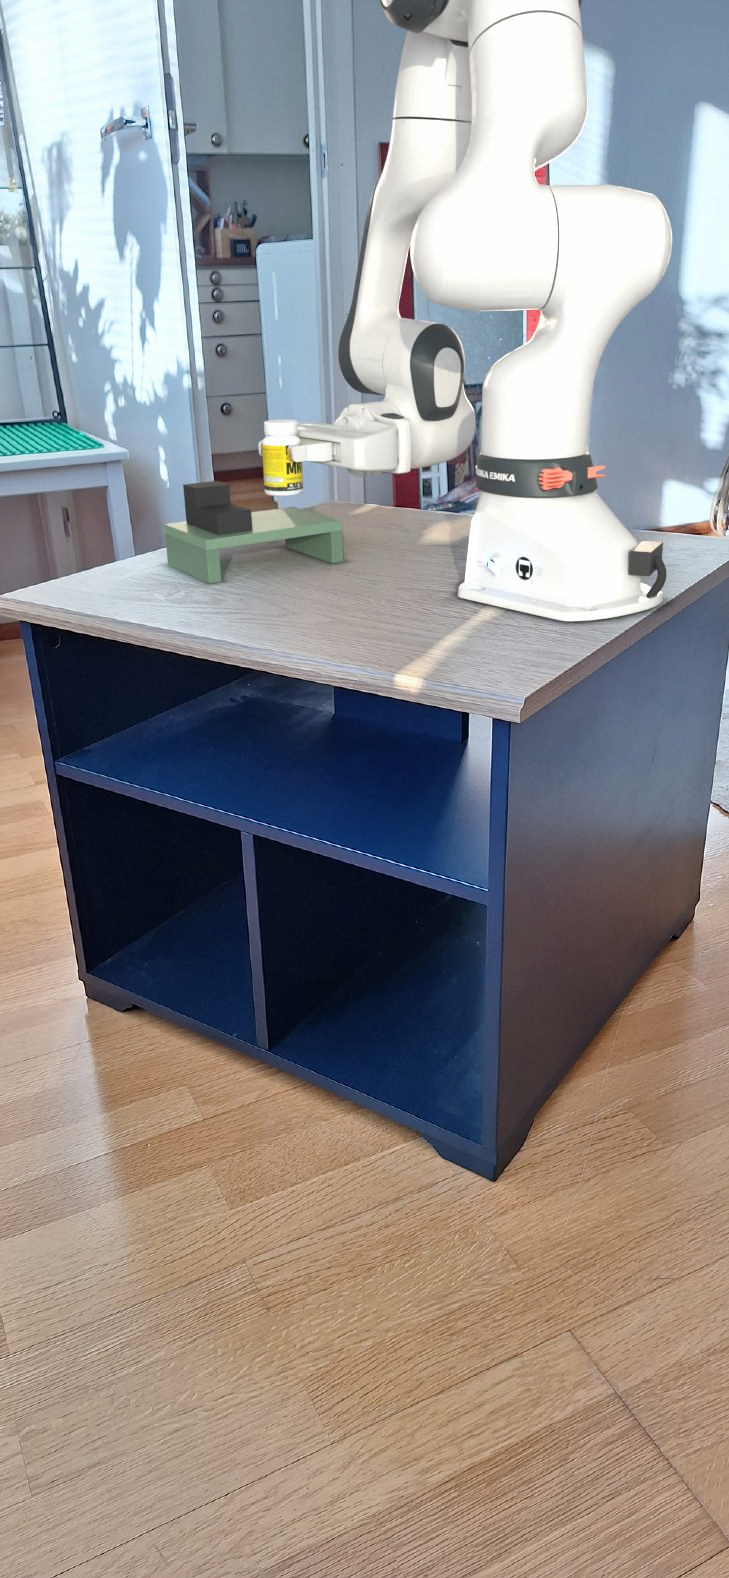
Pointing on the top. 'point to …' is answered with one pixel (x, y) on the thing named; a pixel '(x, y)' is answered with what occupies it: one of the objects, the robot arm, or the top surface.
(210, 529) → the dark stepped block
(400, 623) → the top surface
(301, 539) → the block
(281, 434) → the supplement bottle
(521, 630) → the top surface
